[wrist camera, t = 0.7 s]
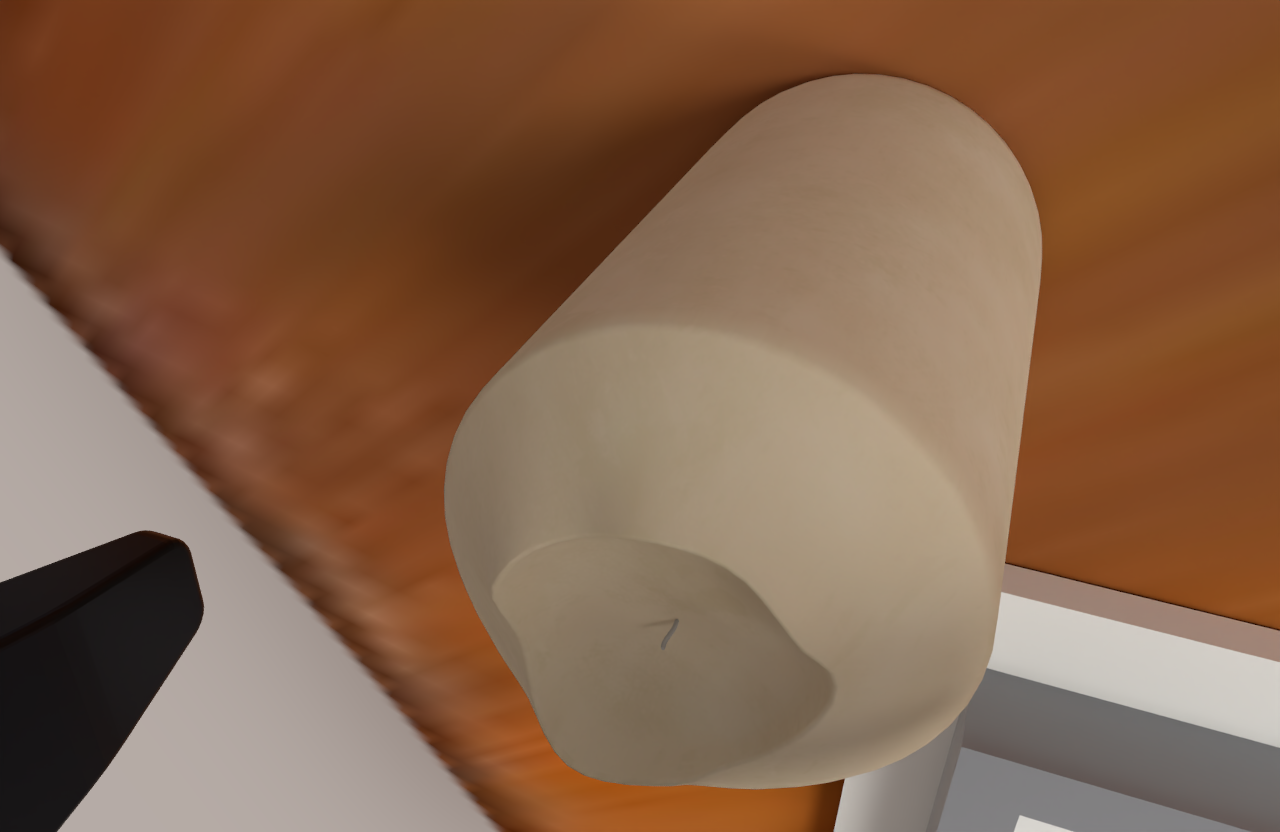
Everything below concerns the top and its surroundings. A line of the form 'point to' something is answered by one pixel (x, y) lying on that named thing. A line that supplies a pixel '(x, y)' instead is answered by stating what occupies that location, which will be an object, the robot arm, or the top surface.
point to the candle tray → (1096, 725)
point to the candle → (767, 452)
